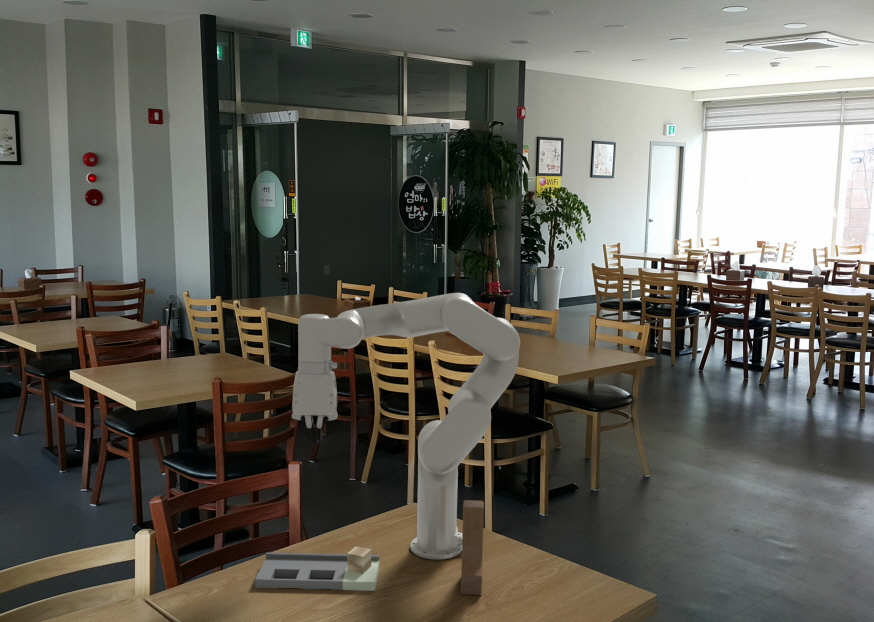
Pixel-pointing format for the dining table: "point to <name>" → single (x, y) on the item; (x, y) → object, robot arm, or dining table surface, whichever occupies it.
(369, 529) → the dining table surface
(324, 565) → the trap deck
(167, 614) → the dining table surface
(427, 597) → the dining table surface
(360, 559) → the ash cube
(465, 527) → the wooden block
